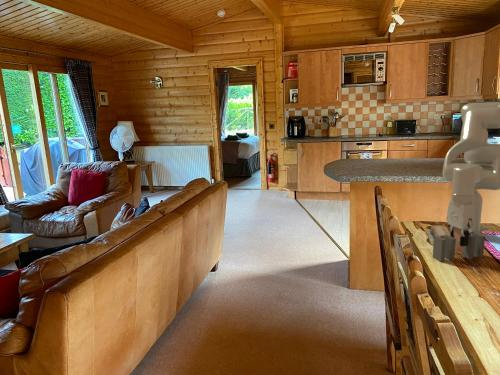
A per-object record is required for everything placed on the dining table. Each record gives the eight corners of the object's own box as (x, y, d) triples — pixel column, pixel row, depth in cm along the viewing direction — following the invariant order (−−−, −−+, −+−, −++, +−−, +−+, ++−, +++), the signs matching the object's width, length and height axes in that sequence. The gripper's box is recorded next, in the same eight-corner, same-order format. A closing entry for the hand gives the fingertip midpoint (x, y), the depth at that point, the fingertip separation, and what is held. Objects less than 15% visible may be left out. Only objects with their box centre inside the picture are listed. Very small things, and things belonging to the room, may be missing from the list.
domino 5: (473, 253, 156) (475, 232, 154) (483, 257, 151) (485, 236, 150) (470, 253, 156) (472, 232, 154) (479, 258, 151) (481, 236, 149)
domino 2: (445, 256, 154) (447, 234, 152) (454, 260, 149) (455, 238, 148) (442, 256, 154) (443, 235, 152) (450, 261, 149) (452, 239, 147)
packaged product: (426, 224, 182) (449, 225, 179) (425, 233, 183) (448, 234, 180) (432, 236, 165) (458, 237, 162) (432, 246, 166) (457, 248, 163)
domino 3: (455, 247, 154) (457, 226, 152) (464, 251, 149) (466, 229, 147) (452, 247, 154) (453, 226, 152) (460, 252, 149) (462, 230, 147)
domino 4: (464, 254, 156) (466, 233, 154) (473, 258, 151) (475, 236, 149) (461, 254, 155) (462, 233, 154) (469, 259, 150) (471, 237, 149)
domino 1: (436, 256, 154) (437, 235, 152) (444, 261, 149) (445, 239, 147) (432, 257, 153) (433, 236, 152) (440, 262, 149) (442, 240, 147)
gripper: (439, 194, 155) (436, 237, 159) (469, 204, 139) (465, 251, 142) (456, 193, 156) (452, 236, 160) (487, 202, 140) (483, 250, 143)
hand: (458, 242), depth 151 cm, fingers closed on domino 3, 4 cm apart
